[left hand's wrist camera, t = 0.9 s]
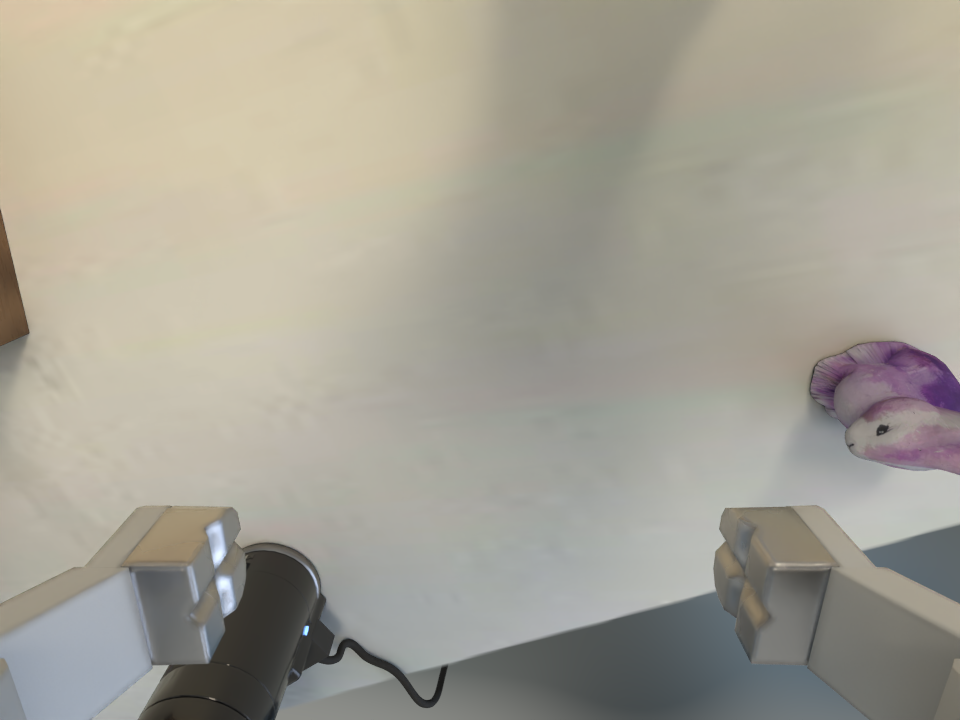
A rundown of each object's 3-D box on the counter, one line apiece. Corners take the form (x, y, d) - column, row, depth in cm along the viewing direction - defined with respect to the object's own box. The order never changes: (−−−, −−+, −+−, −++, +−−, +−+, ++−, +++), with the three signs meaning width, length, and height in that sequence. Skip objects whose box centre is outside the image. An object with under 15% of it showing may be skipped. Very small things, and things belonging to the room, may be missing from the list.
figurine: (779, 385, 54) (884, 475, 40) (884, 308, 52) (1035, 374, 38) (837, 457, 57) (956, 566, 43) (941, 386, 54) (1102, 476, 40)
